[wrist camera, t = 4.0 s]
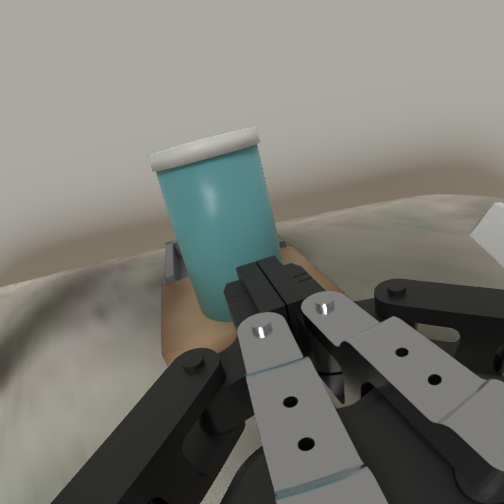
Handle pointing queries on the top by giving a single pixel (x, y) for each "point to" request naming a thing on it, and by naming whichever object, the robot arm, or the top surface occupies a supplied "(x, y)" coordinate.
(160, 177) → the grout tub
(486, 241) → the crown molding
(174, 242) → the tray
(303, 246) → the top surface
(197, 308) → the light tan wooden board
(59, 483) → the top surface
